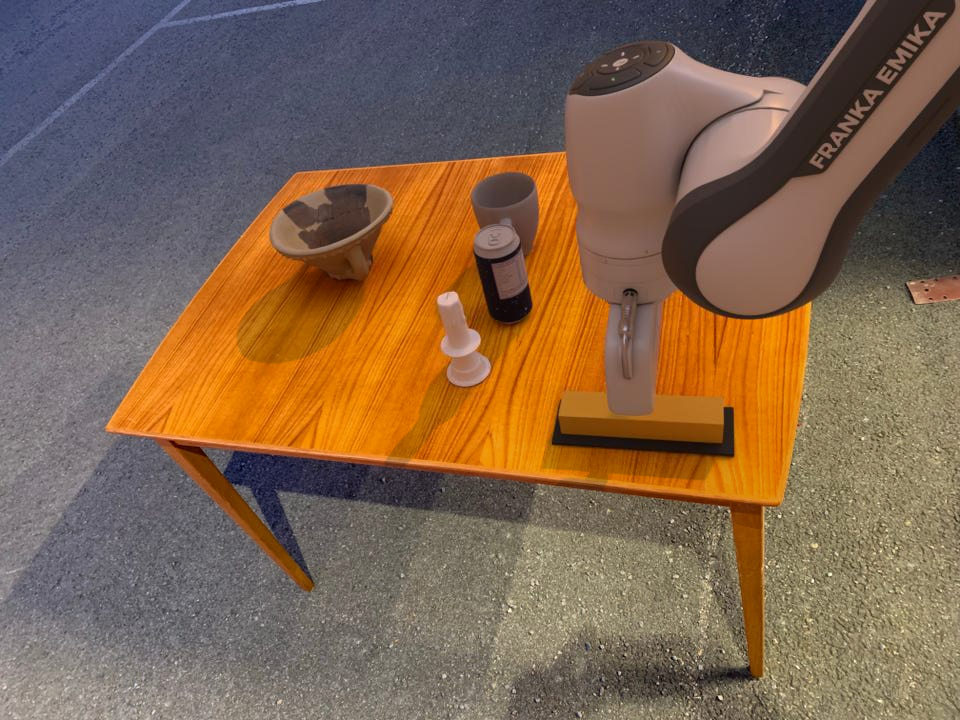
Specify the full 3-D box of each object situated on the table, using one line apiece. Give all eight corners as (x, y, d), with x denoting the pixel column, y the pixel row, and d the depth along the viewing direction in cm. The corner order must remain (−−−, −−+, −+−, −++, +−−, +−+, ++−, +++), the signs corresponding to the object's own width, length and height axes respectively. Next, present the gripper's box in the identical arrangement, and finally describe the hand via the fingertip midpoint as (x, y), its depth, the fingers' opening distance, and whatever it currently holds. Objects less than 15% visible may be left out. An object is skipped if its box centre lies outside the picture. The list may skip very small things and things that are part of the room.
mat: (733, 409, 71) (733, 406, 71) (734, 456, 67) (734, 454, 67) (560, 401, 77) (559, 398, 76) (551, 444, 73) (551, 442, 73)
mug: (484, 234, 102) (471, 177, 95) (544, 225, 101) (534, 166, 94) (482, 286, 94) (468, 227, 87) (548, 277, 92) (538, 217, 85)
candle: (466, 349, 86) (443, 273, 77) (499, 364, 83) (480, 287, 74) (438, 377, 83) (411, 302, 75) (471, 393, 80) (448, 317, 72)
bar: (722, 443, 68) (723, 424, 66) (561, 434, 73) (558, 415, 71) (722, 416, 71) (723, 396, 69) (566, 408, 75) (563, 390, 73)
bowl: (428, 268, 99) (410, 211, 92) (311, 323, 95) (284, 268, 89) (384, 216, 111) (366, 162, 104) (279, 262, 107) (254, 210, 101)
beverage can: (534, 296, 90) (520, 219, 82) (532, 326, 86) (517, 248, 78) (491, 299, 91) (473, 224, 83) (487, 329, 87) (468, 253, 79)
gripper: (668, 344, 49) (672, 461, 58) (679, 183, 62) (681, 299, 72) (578, 343, 51) (596, 456, 60) (608, 187, 64) (619, 299, 74)
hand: (642, 369), depth 66 cm, fingers open, 8 cm apart
